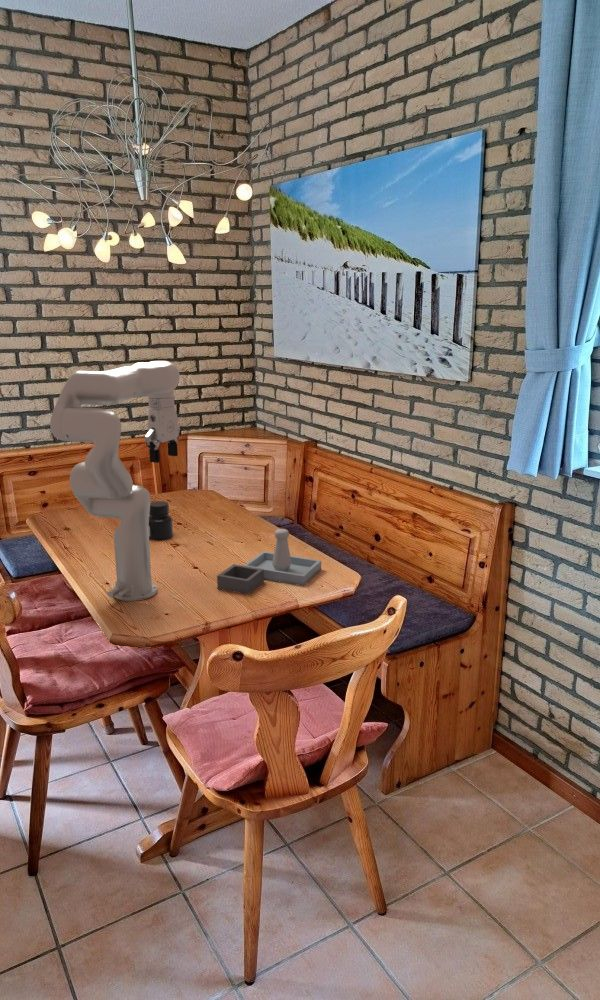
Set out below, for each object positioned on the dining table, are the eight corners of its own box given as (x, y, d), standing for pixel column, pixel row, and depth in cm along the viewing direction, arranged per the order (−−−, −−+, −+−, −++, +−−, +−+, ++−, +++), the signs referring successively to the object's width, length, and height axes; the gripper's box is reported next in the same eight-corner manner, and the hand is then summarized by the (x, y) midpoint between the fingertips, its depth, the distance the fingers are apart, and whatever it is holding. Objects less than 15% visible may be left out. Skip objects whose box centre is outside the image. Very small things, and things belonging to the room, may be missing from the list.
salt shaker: (284, 575, 213) (284, 534, 209) (268, 571, 216) (268, 530, 212) (294, 569, 217) (295, 529, 214) (279, 565, 220) (279, 525, 217)
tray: (303, 585, 207) (303, 576, 206) (242, 575, 215) (242, 566, 214) (321, 569, 219) (321, 560, 219) (263, 560, 227) (263, 551, 226)
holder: (248, 594, 201) (248, 581, 200) (217, 588, 205) (217, 575, 204) (263, 581, 210) (263, 569, 209) (233, 576, 213) (233, 564, 212)
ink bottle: (155, 531, 254) (153, 499, 251) (177, 533, 252) (176, 501, 248) (142, 539, 245) (140, 506, 242) (165, 542, 243) (163, 508, 239)
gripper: (155, 407, 202) (158, 466, 207) (187, 400, 218) (189, 454, 223) (133, 406, 205) (136, 463, 210) (166, 398, 221) (169, 452, 225)
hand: (164, 458), depth 216 cm, fingers open, 9 cm apart
